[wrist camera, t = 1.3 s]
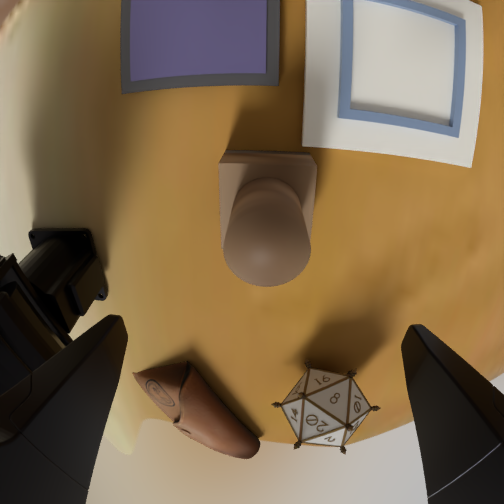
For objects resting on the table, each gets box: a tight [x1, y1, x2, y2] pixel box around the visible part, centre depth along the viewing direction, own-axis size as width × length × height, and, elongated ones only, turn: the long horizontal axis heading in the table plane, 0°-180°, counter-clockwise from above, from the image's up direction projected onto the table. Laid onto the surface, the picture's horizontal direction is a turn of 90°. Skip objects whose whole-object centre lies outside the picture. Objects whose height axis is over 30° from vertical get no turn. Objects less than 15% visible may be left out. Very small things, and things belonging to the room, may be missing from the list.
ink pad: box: [121, 0, 280, 94], centre depth 14 cm, size 9×9×1 cm
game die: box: [271, 359, 381, 454], centre depth 25 cm, size 9×8×10 cm
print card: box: [302, 0, 483, 168], centre depth 14 cm, size 12×12×1 cm
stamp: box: [219, 150, 317, 287], centre depth 16 cm, size 5×5×8 cm
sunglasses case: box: [133, 361, 260, 459], centre depth 32 cm, size 18×7×7 cm
